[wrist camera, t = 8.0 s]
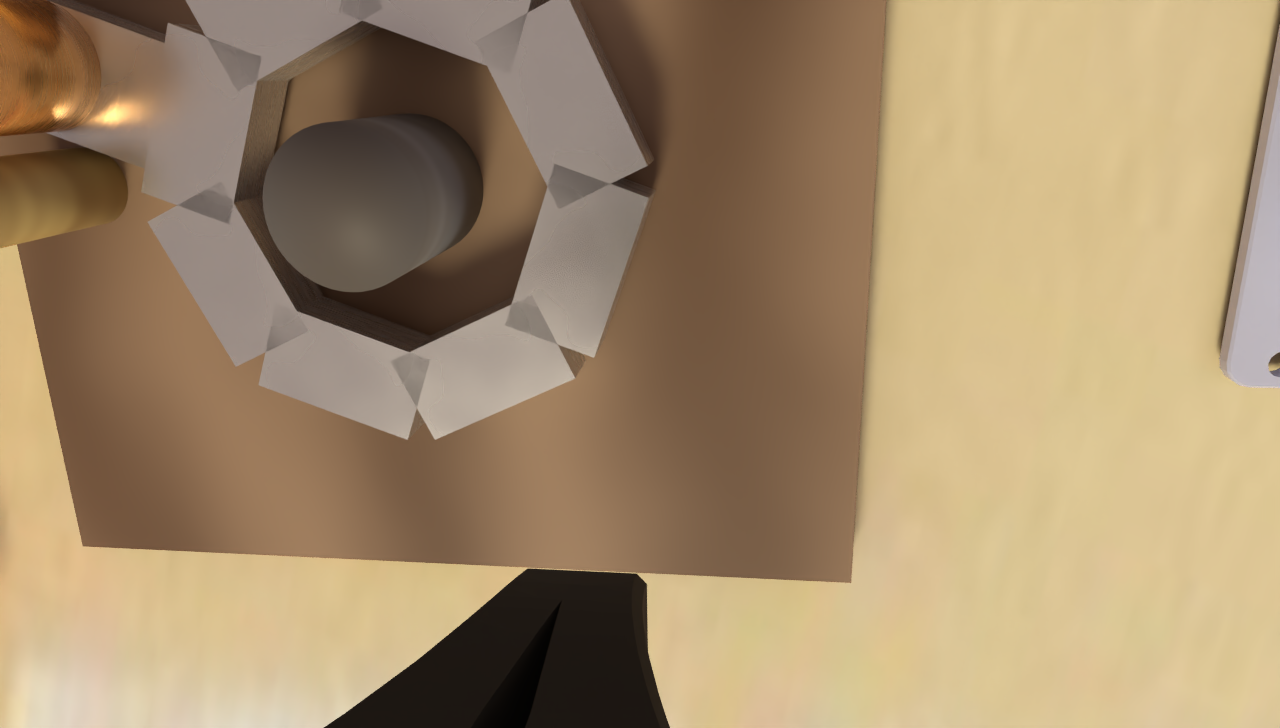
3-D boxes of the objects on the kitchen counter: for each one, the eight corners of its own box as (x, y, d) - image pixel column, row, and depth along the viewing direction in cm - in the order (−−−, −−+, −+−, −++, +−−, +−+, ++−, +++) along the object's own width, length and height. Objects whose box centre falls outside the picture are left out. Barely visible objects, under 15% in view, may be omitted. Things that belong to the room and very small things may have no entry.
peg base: (898, -324, 16) (959, -493, 11) (847, 559, 21) (873, 701, 16) (-53, -263, 18) (-342, -383, 13) (110, 526, 23) (-57, 644, 18)
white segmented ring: (710, 31, 17) (697, 20, 13) (560, 467, 20) (513, 561, 16) (48, -208, 17) (-158, -290, 13) (-3, 261, 20) (-182, 305, 16)
